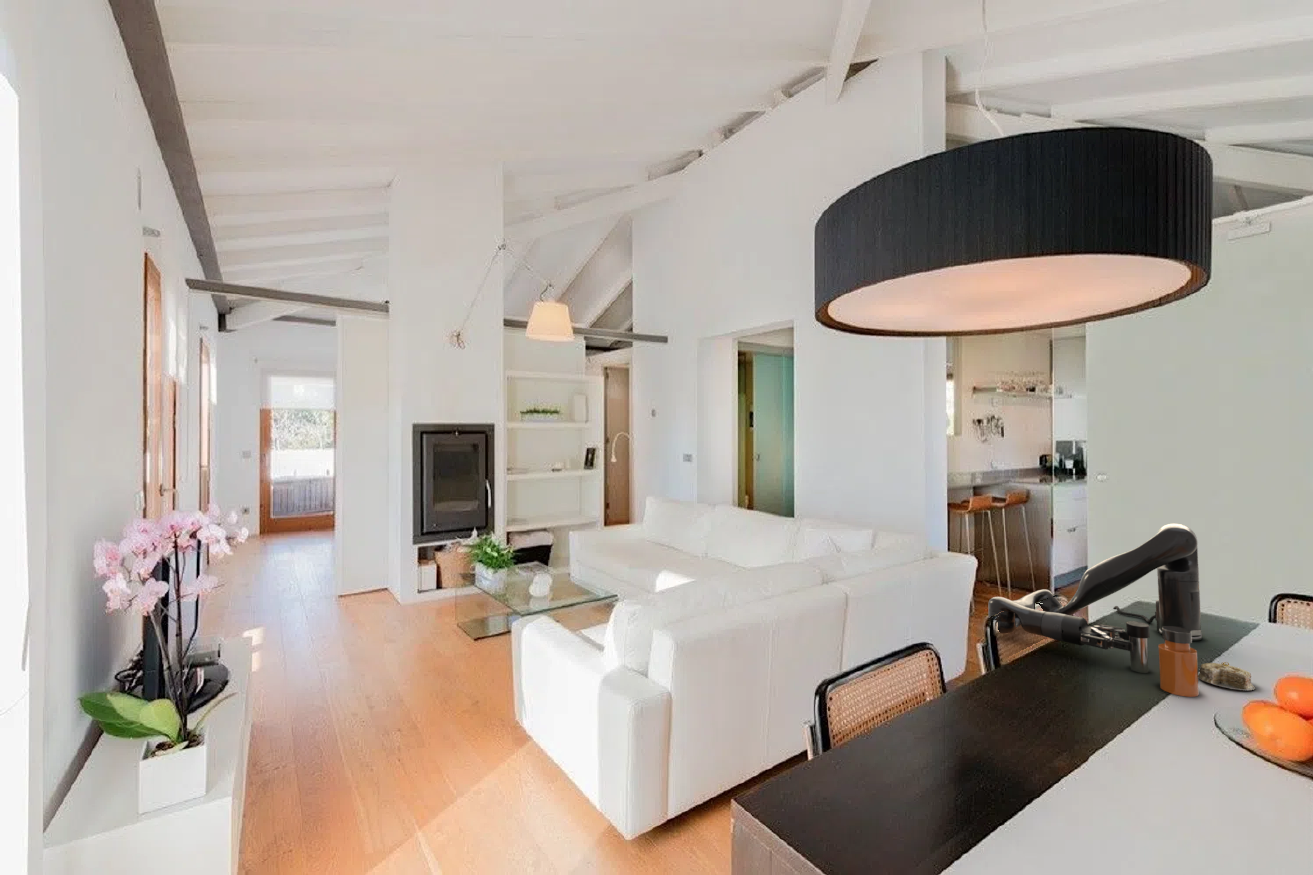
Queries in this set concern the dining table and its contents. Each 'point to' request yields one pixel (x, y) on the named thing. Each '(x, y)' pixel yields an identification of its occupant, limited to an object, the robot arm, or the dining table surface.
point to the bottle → (1178, 662)
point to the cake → (1226, 676)
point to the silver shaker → (1138, 645)
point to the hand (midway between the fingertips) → (1137, 642)
